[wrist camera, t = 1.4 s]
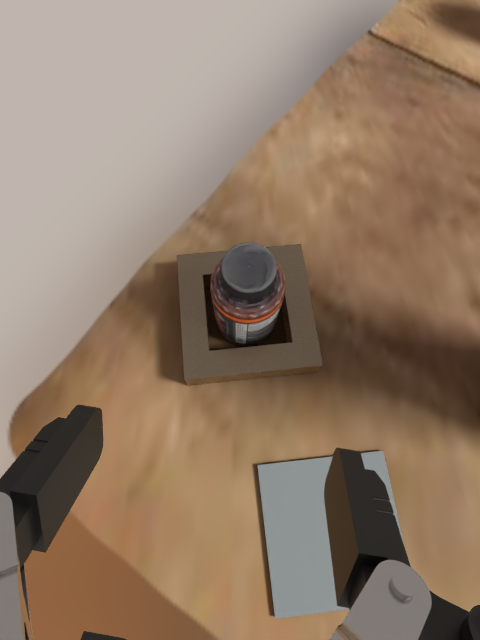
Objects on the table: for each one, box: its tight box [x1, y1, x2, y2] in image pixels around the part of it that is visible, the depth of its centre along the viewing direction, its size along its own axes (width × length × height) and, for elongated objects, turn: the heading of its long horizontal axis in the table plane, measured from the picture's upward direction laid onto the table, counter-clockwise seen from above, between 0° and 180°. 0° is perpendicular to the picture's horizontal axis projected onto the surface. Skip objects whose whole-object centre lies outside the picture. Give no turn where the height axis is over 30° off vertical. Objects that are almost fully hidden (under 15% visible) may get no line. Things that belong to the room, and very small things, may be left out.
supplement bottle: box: [210, 243, 286, 346], centre depth 32 cm, size 6×6×11 cm
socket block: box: [177, 244, 323, 386], centre depth 36 cm, size 12×12×3 cm
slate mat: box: [257, 451, 403, 619], centre depth 31 cm, size 11×11×1 cm
